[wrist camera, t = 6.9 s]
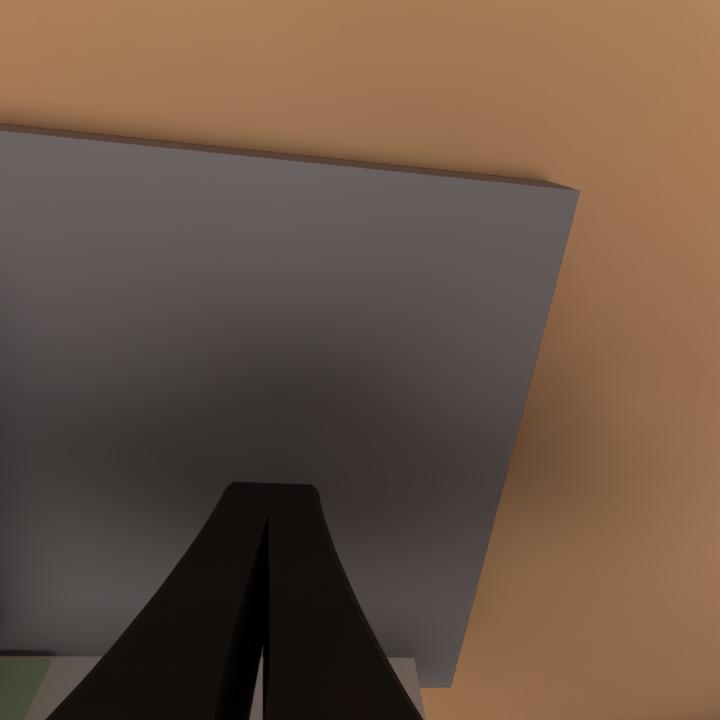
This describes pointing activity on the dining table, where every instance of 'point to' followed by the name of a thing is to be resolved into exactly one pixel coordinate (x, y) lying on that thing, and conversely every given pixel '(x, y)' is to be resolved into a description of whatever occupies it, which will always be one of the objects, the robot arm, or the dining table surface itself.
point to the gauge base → (253, 379)
